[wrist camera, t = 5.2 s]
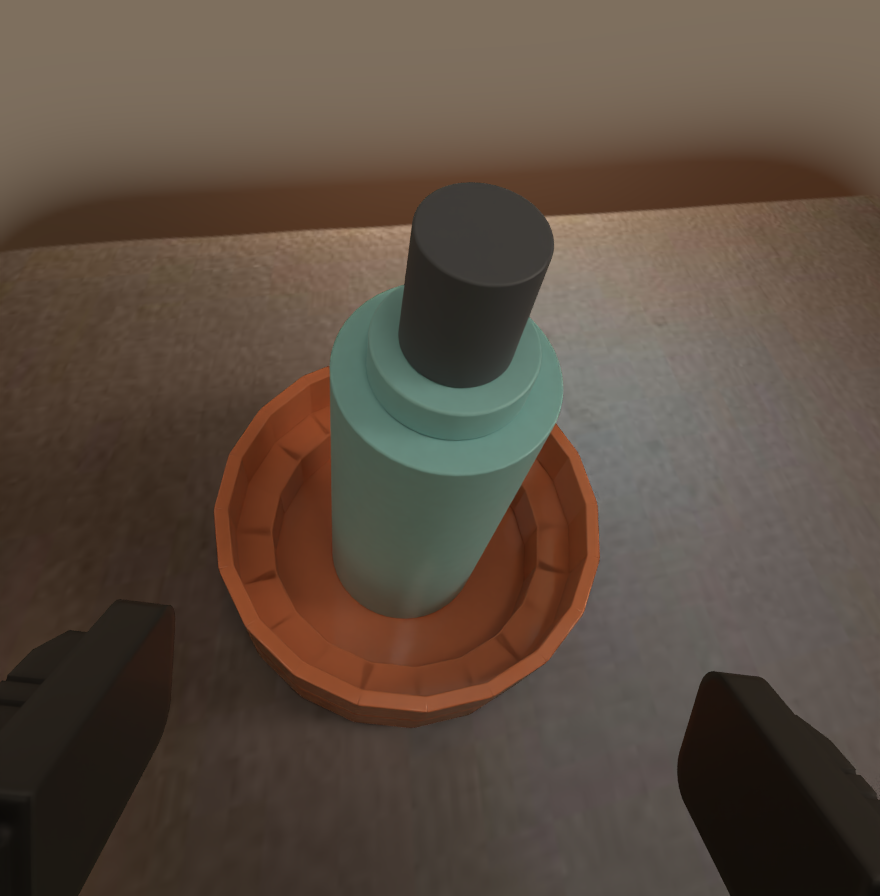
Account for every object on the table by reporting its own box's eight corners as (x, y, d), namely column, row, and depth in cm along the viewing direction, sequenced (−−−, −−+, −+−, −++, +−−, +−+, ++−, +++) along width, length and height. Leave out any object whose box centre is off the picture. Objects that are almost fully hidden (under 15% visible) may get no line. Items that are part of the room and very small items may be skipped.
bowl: (195, 707, 25) (165, 684, 20) (272, 395, 31) (262, 329, 27) (561, 745, 26) (607, 732, 21) (558, 436, 33) (592, 379, 28)
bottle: (321, 609, 26) (300, 327, 11) (343, 476, 29) (352, 108, 14) (469, 627, 27) (645, 379, 12) (477, 494, 30) (624, 156, 14)
